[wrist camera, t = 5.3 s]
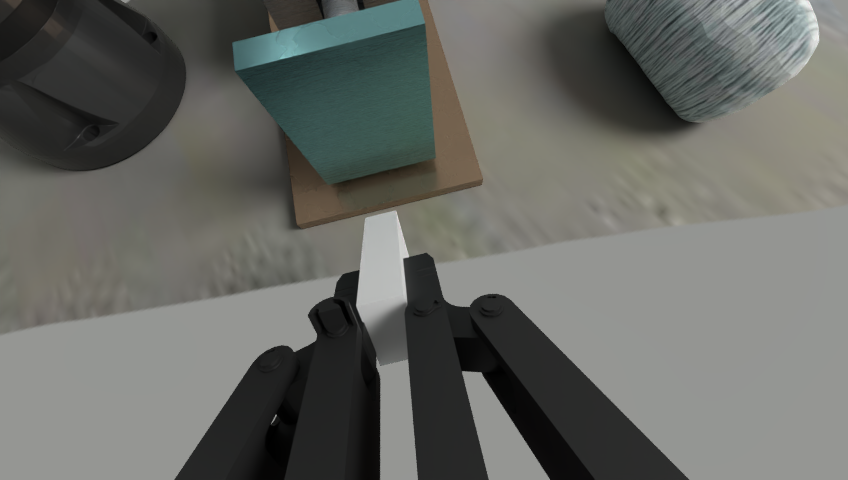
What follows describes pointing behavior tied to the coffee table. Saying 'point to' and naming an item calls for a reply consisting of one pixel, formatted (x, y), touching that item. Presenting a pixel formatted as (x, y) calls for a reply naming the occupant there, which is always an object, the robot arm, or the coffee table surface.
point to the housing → (448, 172)
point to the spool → (715, 49)
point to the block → (347, 87)
